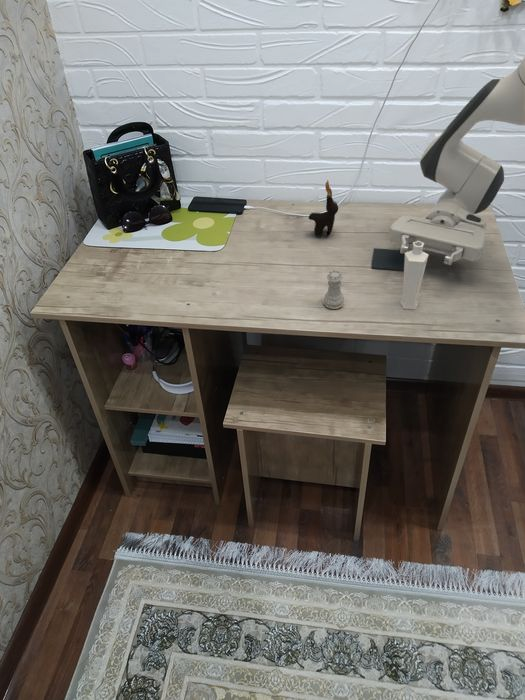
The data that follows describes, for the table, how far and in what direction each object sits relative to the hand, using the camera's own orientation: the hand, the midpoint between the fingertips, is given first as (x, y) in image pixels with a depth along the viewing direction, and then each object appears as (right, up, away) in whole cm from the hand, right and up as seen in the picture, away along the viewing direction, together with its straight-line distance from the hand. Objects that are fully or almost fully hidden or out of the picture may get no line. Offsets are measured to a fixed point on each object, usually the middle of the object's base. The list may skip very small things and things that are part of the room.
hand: (425, 256), depth 120 cm
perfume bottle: (-3, -10, +2) cm, 11 cm away
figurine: (-19, +10, +24) cm, 32 cm away
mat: (-3, +1, +14) cm, 14 cm away
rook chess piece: (-19, -10, +4) cm, 21 cm away
